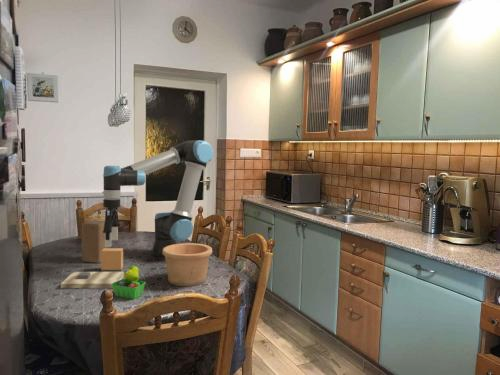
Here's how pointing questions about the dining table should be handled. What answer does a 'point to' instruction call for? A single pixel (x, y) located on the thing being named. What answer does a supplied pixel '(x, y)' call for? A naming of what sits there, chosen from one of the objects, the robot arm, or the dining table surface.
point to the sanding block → (112, 260)
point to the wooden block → (93, 241)
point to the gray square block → (84, 275)
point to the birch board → (92, 280)
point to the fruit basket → (129, 284)
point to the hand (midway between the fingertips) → (111, 243)
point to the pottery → (187, 263)
